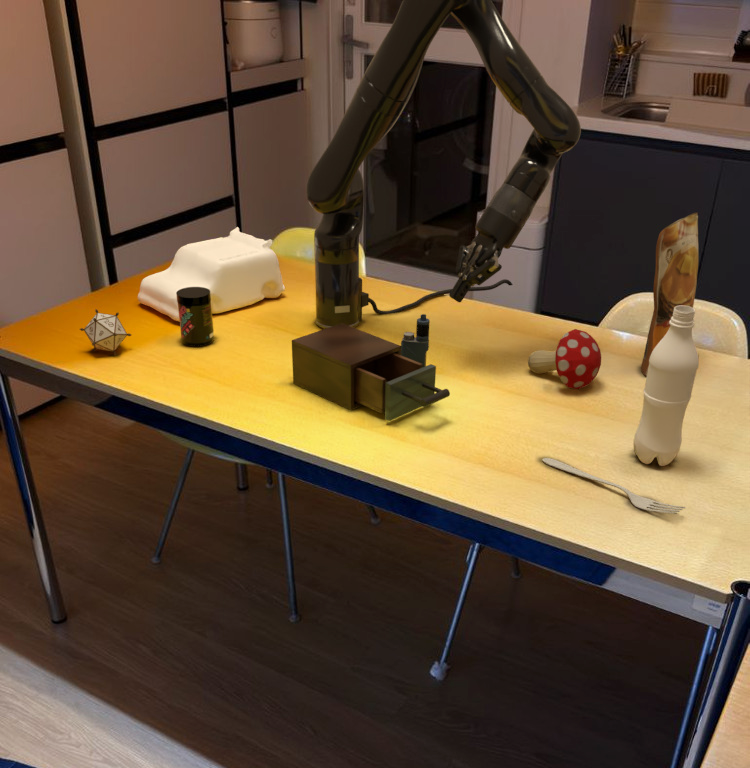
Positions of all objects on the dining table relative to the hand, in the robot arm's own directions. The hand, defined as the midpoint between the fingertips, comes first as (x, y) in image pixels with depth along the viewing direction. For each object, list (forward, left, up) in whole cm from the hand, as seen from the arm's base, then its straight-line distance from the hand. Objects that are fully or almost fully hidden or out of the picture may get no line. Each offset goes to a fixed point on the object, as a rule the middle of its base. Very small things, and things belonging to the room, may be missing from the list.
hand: (454, 299), depth 164 cm
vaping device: (+7, -3, -14) cm, 16 cm away
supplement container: (+27, -45, -14) cm, 54 cm away
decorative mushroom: (-12, +18, -14) cm, 26 cm away
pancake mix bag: (-33, +27, -14) cm, 45 cm away
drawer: (+20, +5, -13) cm, 25 cm away
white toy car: (+10, -63, -14) cm, 65 cm away
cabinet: (+20, -8, -14) cm, 26 cm away
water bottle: (+3, +46, -14) cm, 48 cm away
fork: (+17, +46, -14) cm, 51 cm away
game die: (+43, -53, -14) cm, 70 cm away
